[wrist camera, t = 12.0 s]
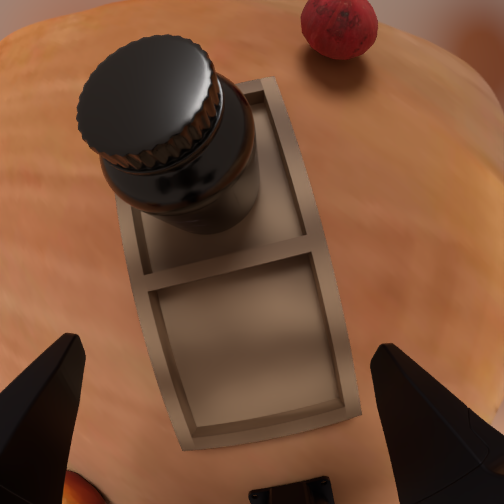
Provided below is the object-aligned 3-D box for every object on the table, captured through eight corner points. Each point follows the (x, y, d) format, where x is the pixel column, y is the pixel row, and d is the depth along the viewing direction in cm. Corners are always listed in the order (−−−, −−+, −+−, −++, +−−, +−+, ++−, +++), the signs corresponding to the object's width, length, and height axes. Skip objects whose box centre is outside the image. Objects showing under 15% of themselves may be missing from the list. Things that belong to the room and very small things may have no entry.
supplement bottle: (180, 128, 20) (112, 11, 8) (273, 154, 20) (282, 26, 8) (144, 219, 20) (24, 164, 8) (239, 252, 20) (201, 220, 8)
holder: (352, 400, 19) (362, 414, 17) (190, 434, 20) (182, 451, 17) (273, 94, 21) (274, 76, 19) (122, 137, 21) (108, 124, 19)
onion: (357, 88, 21) (388, 22, 13) (288, 64, 21) (295, -8, 13) (368, 43, 21) (394, -18, 13) (307, 23, 22) (316, -43, 14)
